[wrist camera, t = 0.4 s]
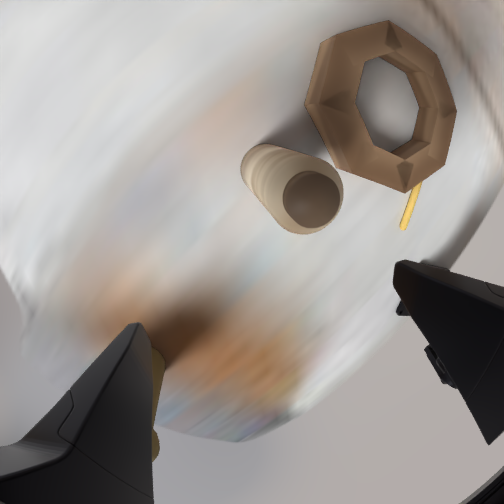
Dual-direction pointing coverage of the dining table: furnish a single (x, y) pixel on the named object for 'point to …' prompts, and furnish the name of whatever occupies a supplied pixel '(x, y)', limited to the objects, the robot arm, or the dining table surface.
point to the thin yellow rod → (410, 206)
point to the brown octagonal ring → (350, 121)
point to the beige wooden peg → (293, 187)
